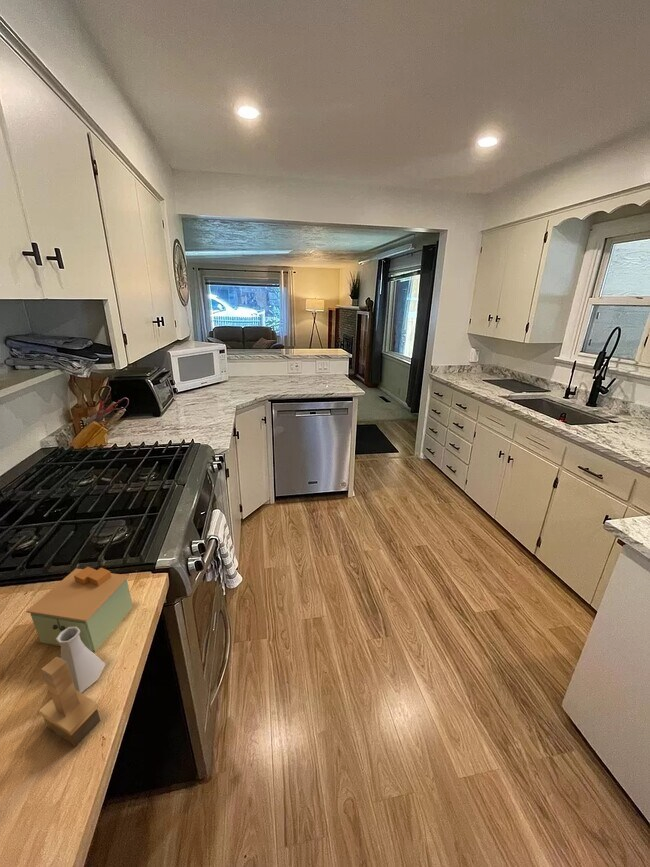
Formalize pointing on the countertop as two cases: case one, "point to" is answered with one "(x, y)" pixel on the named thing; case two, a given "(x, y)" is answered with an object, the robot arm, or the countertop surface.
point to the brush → (67, 704)
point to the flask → (79, 659)
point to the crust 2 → (99, 576)
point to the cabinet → (82, 609)
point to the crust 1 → (84, 575)
